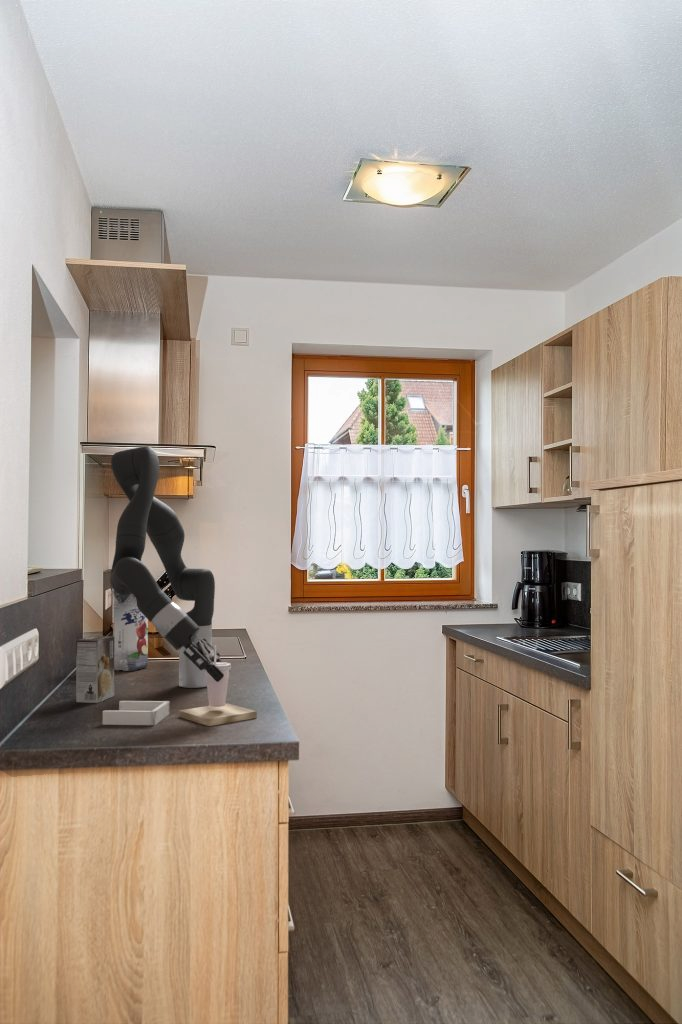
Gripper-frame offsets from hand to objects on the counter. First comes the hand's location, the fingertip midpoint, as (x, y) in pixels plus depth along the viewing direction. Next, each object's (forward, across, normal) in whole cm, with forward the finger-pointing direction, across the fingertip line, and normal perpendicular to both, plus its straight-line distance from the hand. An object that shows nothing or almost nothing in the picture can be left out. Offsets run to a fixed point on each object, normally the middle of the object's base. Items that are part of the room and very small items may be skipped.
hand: (224, 676), depth 193 cm
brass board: (+6, 0, +8) cm, 10 cm away
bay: (-7, -3, +21) cm, 22 cm away
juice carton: (-25, +69, +39) cm, 83 cm away
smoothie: (+4, 0, +6) cm, 7 cm away
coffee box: (-20, +20, +34) cm, 44 cm away
